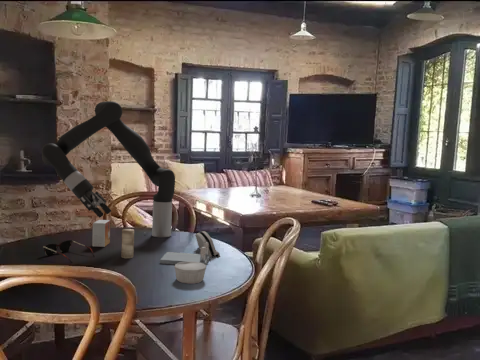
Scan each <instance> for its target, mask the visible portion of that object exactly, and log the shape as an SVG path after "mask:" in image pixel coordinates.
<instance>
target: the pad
mask: <svg viewBox="0 0 480 360" xmlns="http://www.w3.org/2000/svg"><path fill="white" fill-rule="evenodd" d="M208 247H209V243H208V242H204V247H201V249H200V252H199V253H188V252H176V251H175V252H172V251H167V252H165V253H164V254H163V256H161V258H160V259H159V264H163V265H164V264H165V265H166V264H167V265H175V264H177V263H180V262H199V263H203V264H205V265H206V266H207V265H208V263H209V261H210V258H211V257H210V255H208Z"/></svg>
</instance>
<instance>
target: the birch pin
mask: <svg viewBox="0 0 480 360" xmlns="http://www.w3.org/2000/svg"><path fill="white" fill-rule="evenodd" d="M134 249H135V229H133V228H132V229H131V228H124V229H122V230H121V253H120V254H121V257H120V258H122V259H132V258H134Z"/></svg>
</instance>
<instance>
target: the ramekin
mask: <svg viewBox="0 0 480 360" xmlns="http://www.w3.org/2000/svg"><path fill="white" fill-rule="evenodd" d="M206 269H207V265H205V264H203V263H199V262H180V263H177V264H174V272H175V278H176V280H177V281H178V282H179V283H181V284H199V283H202V281H204V279H205V274H206V273H205V272H206Z"/></svg>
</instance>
